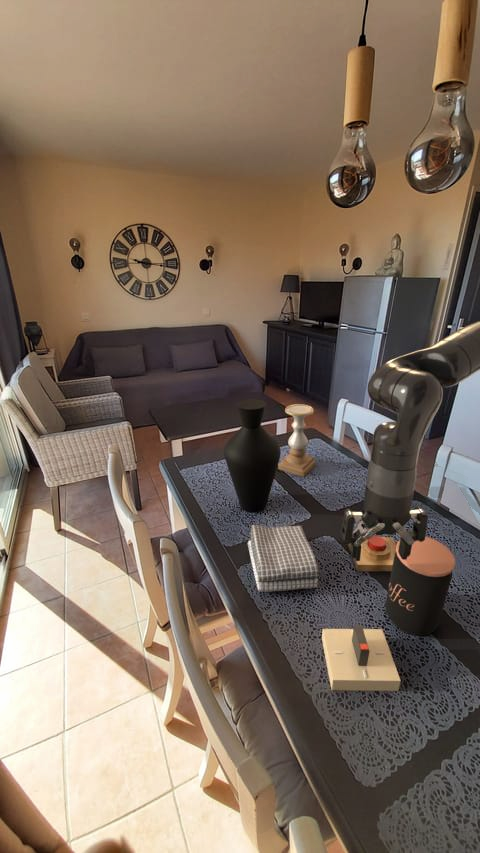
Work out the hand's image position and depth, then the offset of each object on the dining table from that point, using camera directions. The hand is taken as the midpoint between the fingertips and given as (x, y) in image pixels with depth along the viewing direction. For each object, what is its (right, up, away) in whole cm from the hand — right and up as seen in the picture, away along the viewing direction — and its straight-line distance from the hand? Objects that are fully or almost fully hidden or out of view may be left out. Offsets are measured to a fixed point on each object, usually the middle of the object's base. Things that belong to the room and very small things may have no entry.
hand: (379, 557), depth 67 cm
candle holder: (-4, +9, +72) cm, 72 cm away
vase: (-22, -1, +50) cm, 55 cm away
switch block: (+10, -10, +28) cm, 31 cm away
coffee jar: (+11, -17, +12) cm, 24 cm away
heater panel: (-3, -22, +3) cm, 22 cm away
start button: (+10, -7, +26) cm, 29 cm away
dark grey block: (-3, -19, +2) cm, 19 cm away
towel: (-15, -12, +26) cm, 33 cm away
